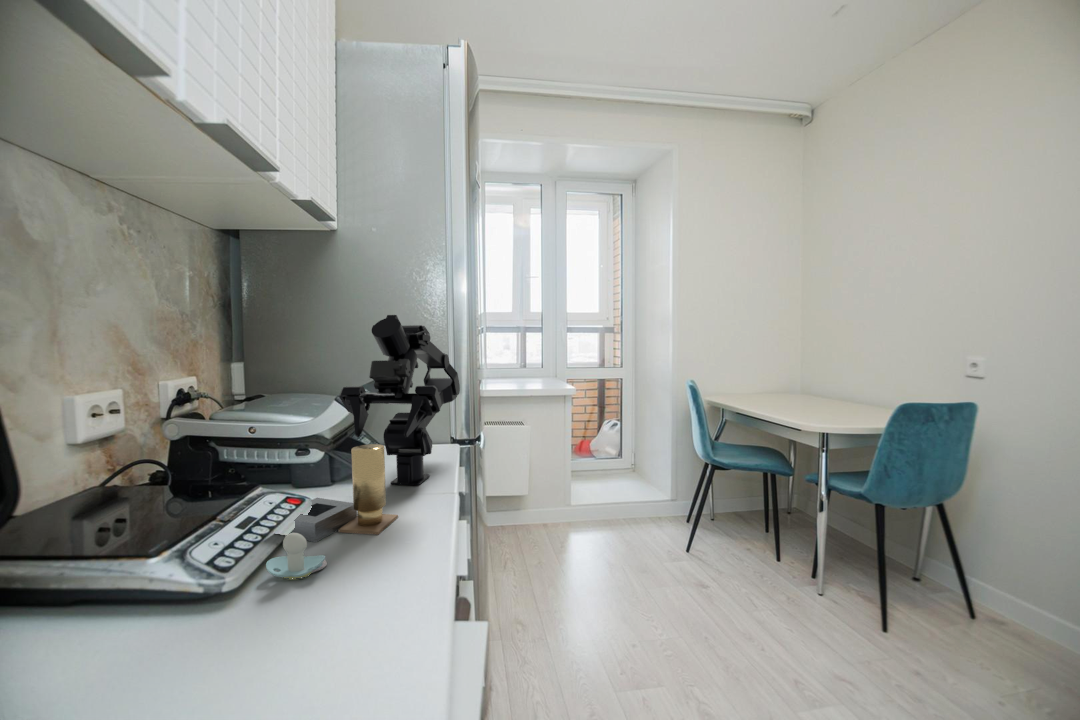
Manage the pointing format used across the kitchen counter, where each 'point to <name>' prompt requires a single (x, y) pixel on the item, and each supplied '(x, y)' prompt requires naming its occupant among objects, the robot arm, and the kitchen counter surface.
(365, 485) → the gold metal cylinder
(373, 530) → the mat
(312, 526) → the housing
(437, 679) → the kitchen counter surface
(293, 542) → the pacifier
